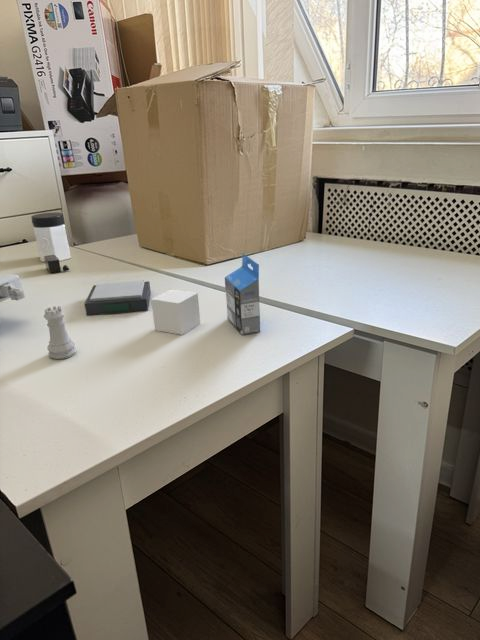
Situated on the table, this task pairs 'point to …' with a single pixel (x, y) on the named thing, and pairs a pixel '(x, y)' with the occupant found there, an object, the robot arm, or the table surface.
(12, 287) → the robot arm
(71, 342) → the rook chess piece
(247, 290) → the ink cartridge box
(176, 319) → the white cube
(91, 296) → the scale
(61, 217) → the jar
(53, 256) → the wireless earbuds
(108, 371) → the table surface
